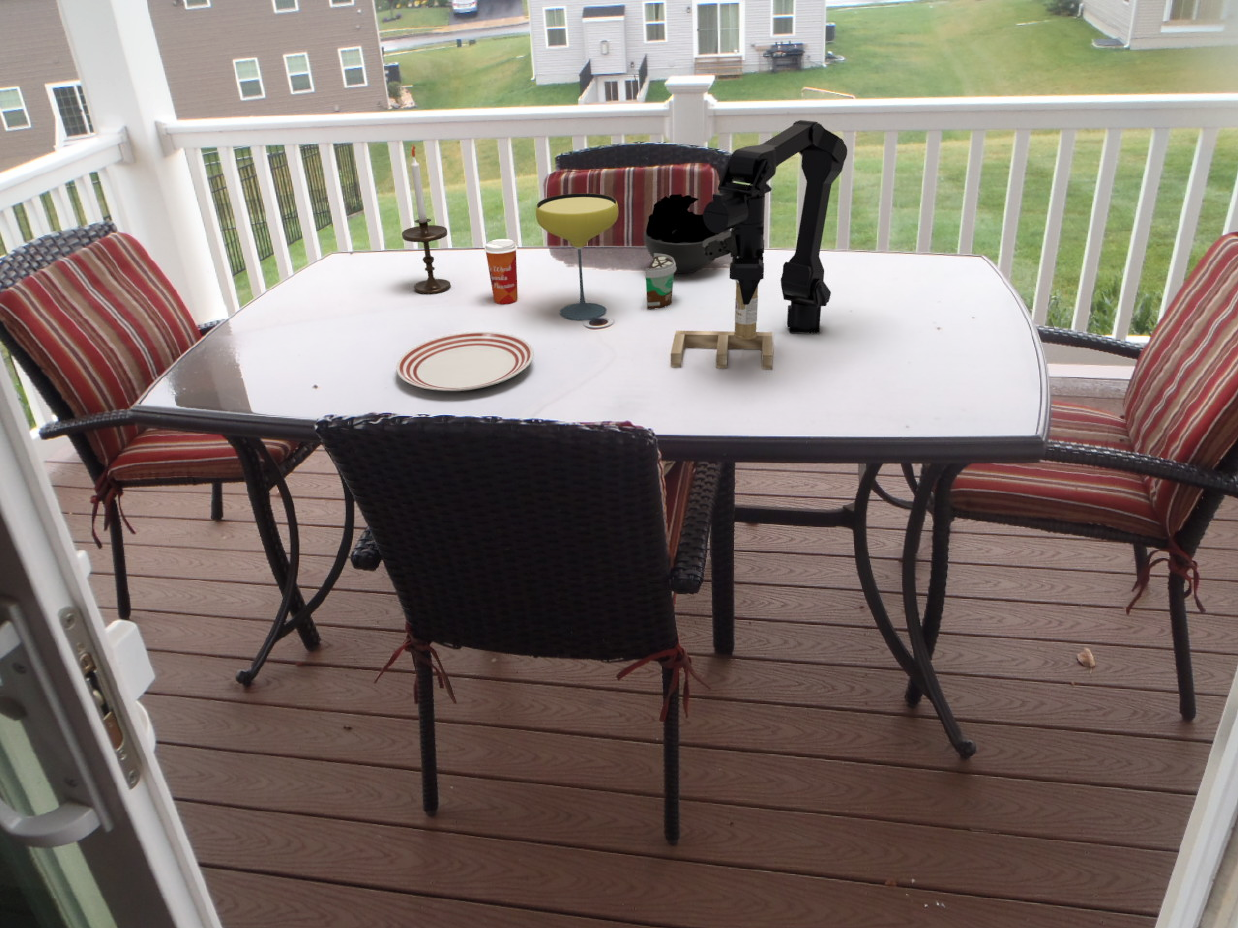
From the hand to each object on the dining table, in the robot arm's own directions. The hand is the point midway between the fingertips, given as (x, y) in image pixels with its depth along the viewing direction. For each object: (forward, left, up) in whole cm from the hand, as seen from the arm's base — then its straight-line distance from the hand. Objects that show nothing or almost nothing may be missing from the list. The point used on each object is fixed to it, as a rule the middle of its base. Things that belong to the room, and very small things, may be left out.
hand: (746, 300), depth 180 cm
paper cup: (+58, -33, -13) cm, 68 cm away
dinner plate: (+56, +8, -13) cm, 58 cm away
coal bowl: (+17, -56, -13) cm, 60 cm away
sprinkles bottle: (0, 0, -8) cm, 8 cm away
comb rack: (+5, -2, -13) cm, 14 cm away
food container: (+20, -33, -13) cm, 40 cm away
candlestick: (+79, -41, -13) cm, 90 cm away
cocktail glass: (+38, -26, -13) cm, 47 cm away
